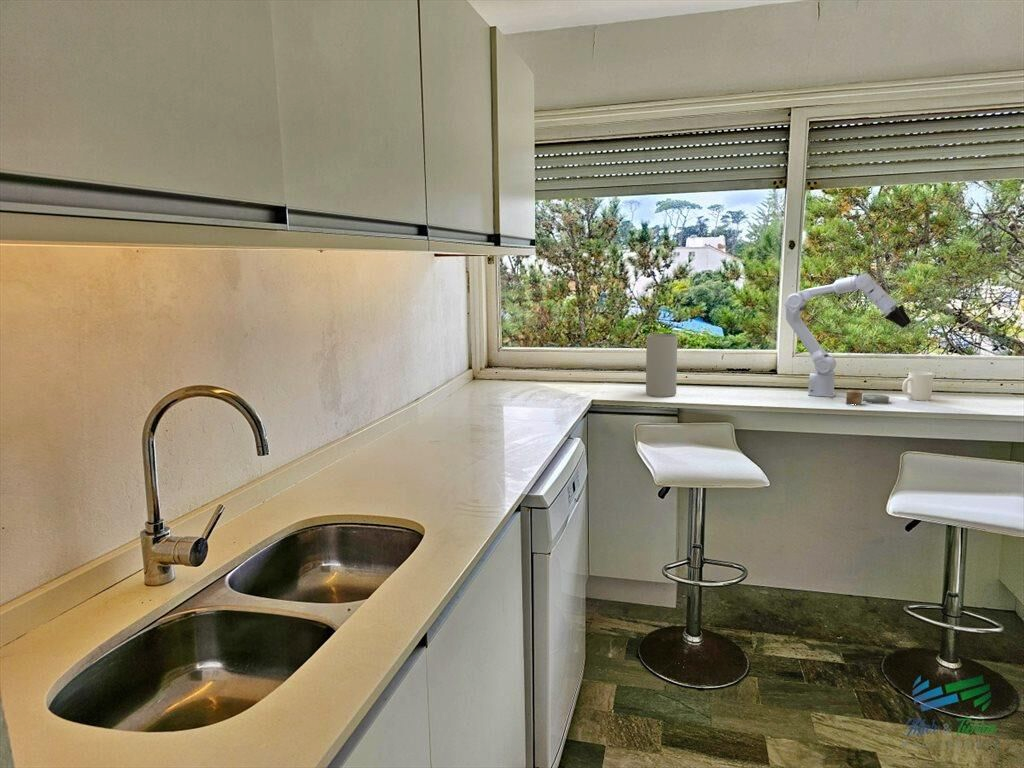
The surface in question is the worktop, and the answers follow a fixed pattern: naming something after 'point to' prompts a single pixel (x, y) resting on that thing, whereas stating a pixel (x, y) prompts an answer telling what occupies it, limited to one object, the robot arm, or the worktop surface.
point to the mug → (918, 385)
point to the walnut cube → (854, 397)
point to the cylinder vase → (661, 365)
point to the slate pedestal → (876, 398)
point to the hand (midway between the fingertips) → (907, 324)
